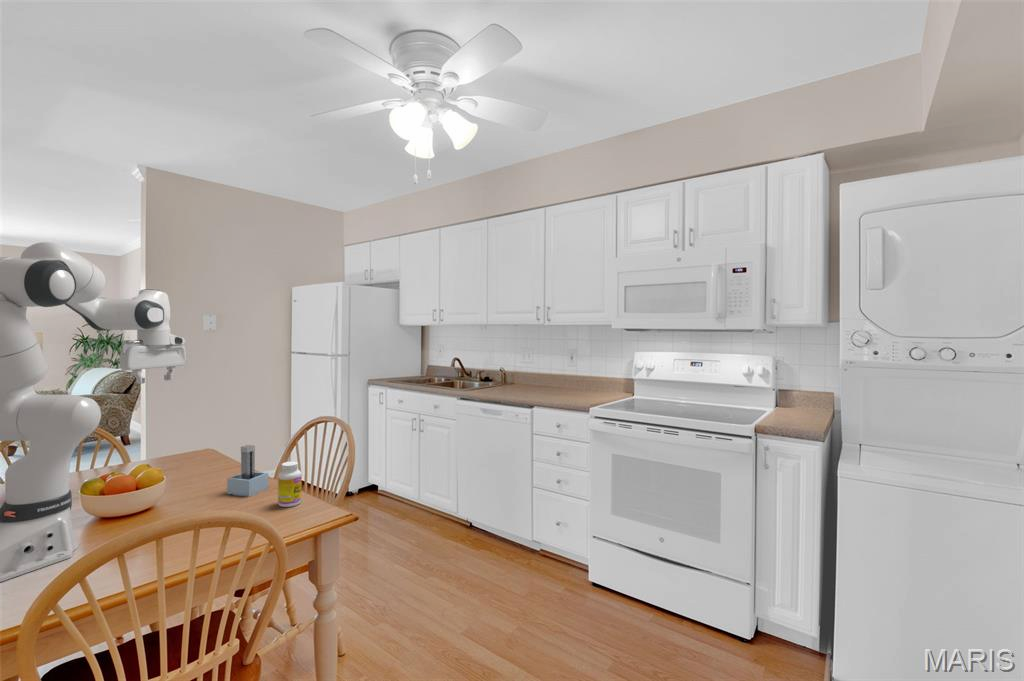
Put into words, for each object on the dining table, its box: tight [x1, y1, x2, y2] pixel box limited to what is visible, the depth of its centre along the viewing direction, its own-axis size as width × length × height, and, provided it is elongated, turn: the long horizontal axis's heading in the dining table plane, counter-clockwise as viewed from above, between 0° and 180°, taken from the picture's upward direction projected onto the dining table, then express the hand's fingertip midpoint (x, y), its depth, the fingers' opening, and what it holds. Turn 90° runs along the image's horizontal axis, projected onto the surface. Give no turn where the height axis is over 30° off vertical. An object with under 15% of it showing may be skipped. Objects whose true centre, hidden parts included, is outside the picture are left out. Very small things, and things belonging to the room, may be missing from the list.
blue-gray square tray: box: [226, 471, 269, 498], centre depth 163 cm, size 9×9×5 cm
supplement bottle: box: [277, 461, 302, 508], centre depth 152 cm, size 7×7×13 cm
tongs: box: [240, 444, 256, 480], centre depth 162 cm, size 3×3×14 cm
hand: (154, 381), depth 158 cm, fingers open, 8 cm apart
